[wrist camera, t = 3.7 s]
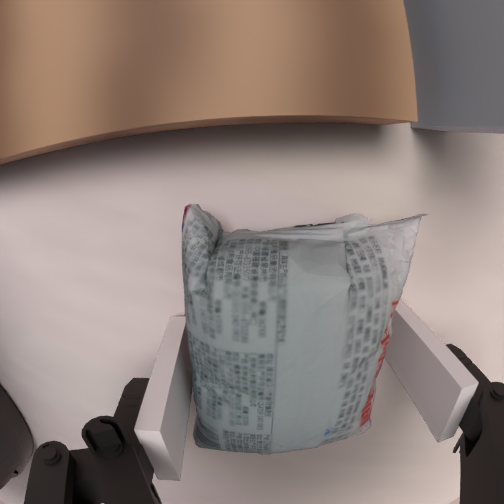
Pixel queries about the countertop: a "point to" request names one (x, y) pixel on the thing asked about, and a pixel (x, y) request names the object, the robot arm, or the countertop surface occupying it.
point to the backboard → (458, 64)
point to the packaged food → (289, 327)
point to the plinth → (196, 67)
